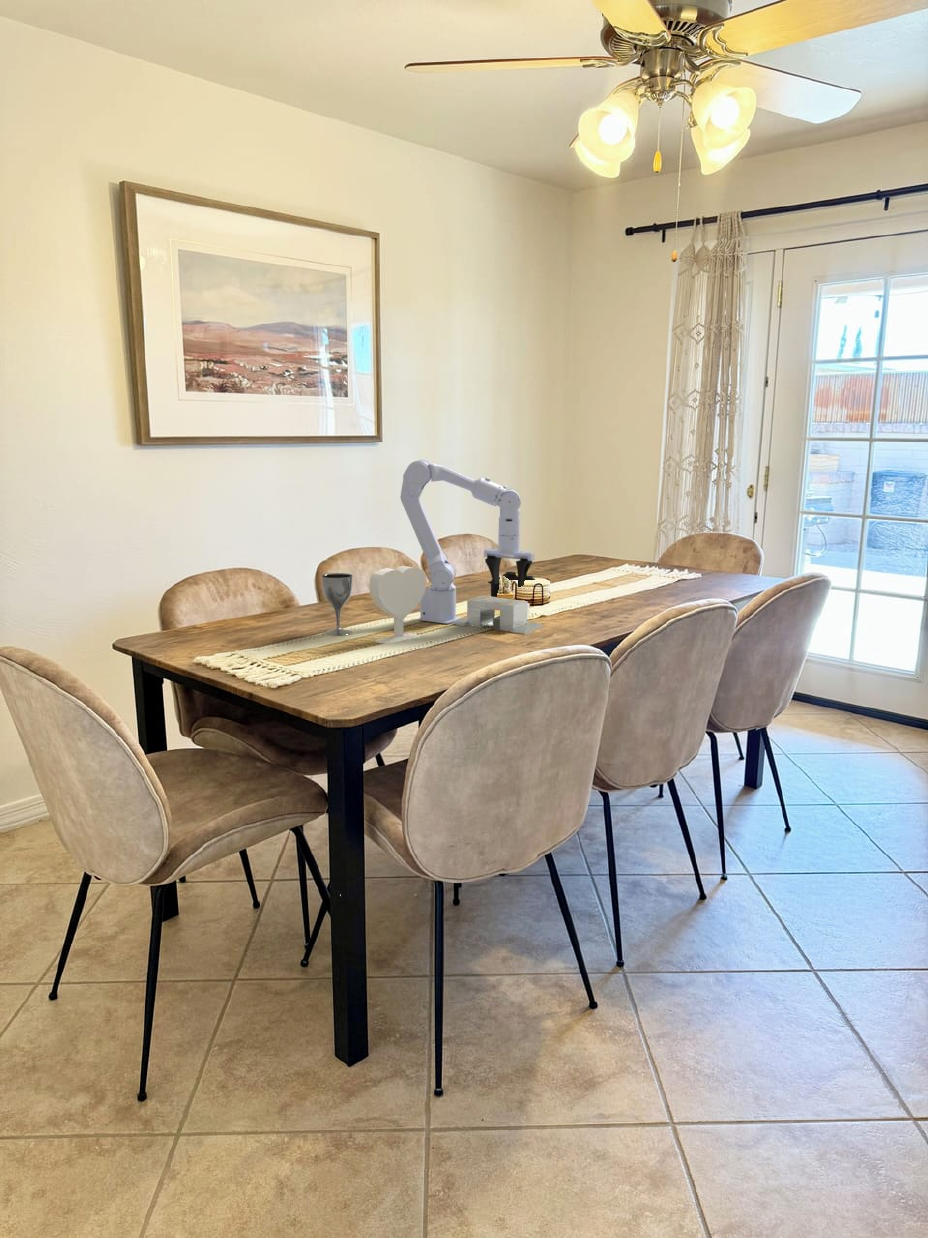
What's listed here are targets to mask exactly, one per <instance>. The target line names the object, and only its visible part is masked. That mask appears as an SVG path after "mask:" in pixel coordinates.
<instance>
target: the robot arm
mask: <svg viewBox="0 0 928 1238" xmlns="http://www.w3.org/2000/svg"><path fill="white" fill-rule="evenodd" d="M440 481H442V482H443V481H444V482H446V483H449V484H452V485H454V486H457V487H459V488H462V489H465V490H467V491H470V492H471V495H472V498H474V499H476V500H478V501H482V502H484V503H486V504H488V505H491V506H493V507H497V506H498V507H499V517H498V538H497V539H498V543H497V545H498V546H497V547H498V549H496V548H486V549H483V557H484V561H485V564H486V566H487V567H488V568H487V569H488V570H489V573H490V575H491V580H493V584H497V583H499V577H500V568H501V562H502V558H503V559H512V560H516V561H515V563H516V564H515V565H516V570H517V577H518V587H521V586H523V585H524V581H525V577H526V575H528V571H529V570H530V567H531V566H532V563H533V561H534V560H535V552H530V551H524V550H520V541H521V540H520V535H521V534H520V533H521V531H520V530H521V518H520V515H521V512H520V507H521V504H522V503H521V496H520V494H519V493H518V491H516V490H514V489H512V488H508V486H507V485H505V484H504V485H501V484H499V483H496V482H493V481H492V480H491V478H490V477H486V478H484V477H480V478H477V479H473V478H471V477H469V476H466V475H465V474H463V473H460V472H457V471H455V470H453V469H451V468H449V467H447V466H445V465H441V464H439V463H434V462H430V461H428V460H425V459H419V460H415V461H412V462H410V463H409V464H408V466H407V467H406V469H405V471H404V473H403V475H402V486H401V491H400V496H399V497H400V498H399V499H400V501H401V504H402V505H403V508H404V511H405V513H406V516H407V517H408V520H409V522H410V525H411V527H412V529H413V531H414V534H415V536H416V538H417V541H418V543H419V545H420V548H421V550H422V552H423V554H424V557H425V559H426V565H427V568H428V570H429V581H430V584H431V585H429V586H428V587H427V586H426V589H425V593H424V595H423V597H422V599H421V601H420V602H419V605H420V606H419V608H420V611H419V614H420V617H419V618H418V620H419V621H425V622H431V623H439V624H447V625H449V624H452V623H453V621H454V620H457V619H460V618H463V617H461V616H457V586H456V585H455V584H454V580H455V578H456V574H457V573H456V572H457V571H456V568H455V567H454V566H453V564H451V563H450V562H449V561H448V559H447V556H446V555H445V553H444V552H443V550H442V548H441V546H440V543H439V540H438V538H437V536H436V533H435V532H434V529H433V527H432V524H431V522H430V519H429V517H428V515H427V512H426V510H425V507H424V506H423V502H422V501H421V499H420V498H421V496H422V493H423V491H424V489H425V487H426V485H427V484H428V483H429V482H431V483H432V482H440ZM485 557H486V558H485Z"/></svg>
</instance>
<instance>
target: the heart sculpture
mask: <svg viewBox="0 0 928 1238" xmlns="http://www.w3.org/2000/svg"><path fill="white" fill-rule="evenodd" d="M427 581H428V580H427V574H426V572H425V570H423V569H421V568H418V567H412V566H407V565H401V566H399V567H397V568H396V569H393V568H389V567H386V568H382V569H378V570H376V571H375V572H373V573H372V575H371V576H370V577H369V583H368V584H369V585H368V587H369V594H370V597H371V599H372V601H373V602H374V604H375V606H377V607H378V608H379V609H380V610H381V611H382V612H384V613H387V614H388V615H390V616H391V617H392V618H393V635H391V636H387V637H382V638H379V639H375V640H374V642H376V643H379V644H387V645H388V644H393V643H397V642H402V641H407V639H408V640H412V639H411V638H413V639H416V638H415V637H418V638H420V637H419V635H420V634H419V635H417V634H418V633H411V632H409V633H404V620H405V619H406V618H407V616H408V615H410V613H412V611H414V610H415V609H416V608H417V606H418V605H420V601H421V599H422V597H423V595H424V593H425V589H426V587H427Z"/></svg>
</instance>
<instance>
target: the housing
mask: <svg viewBox="0 0 928 1238" xmlns="http://www.w3.org/2000/svg"><path fill="white" fill-rule="evenodd" d="M466 603H467V604H466V610H467V611H466V612H467V613H466V616H463V617H462V618H460V619H457V620H454V621H453V622H452V625H453V624H456V625H455V626H458V625H463V626H462V627H467V626H466V625H473V626H479V627H478V628H481V627H480V626H483V625H485V624H488V623H490V622H493V618H495V615H496V614H495V610H499V615H500V630H499V631H505V632H511V633H512V634H521V635H527V634H530V633H532V632H534V631H536V630H539V629H542V628H543V623H537V622H531V621H529V622H528V618H527V605H528V603H529V602H528V601H525V600H516V599H507V598H498V597H491V595H490V596H489V595H479V596H476V597H474V598H470V599H467V602H466ZM488 625H489V624H488ZM473 626H472V627H473ZM485 626H486V625H485ZM483 627H484V626H483Z"/></svg>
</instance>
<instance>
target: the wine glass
mask: <svg viewBox="0 0 928 1238" xmlns="http://www.w3.org/2000/svg"><path fill="white" fill-rule="evenodd" d="M320 577H321V578H320V579H321V582H320V583H321V588H322V593H323V596H324V598H325V600H326V601H327V602H328V603H329V605H331V607H332V608H333V610H334V614H335V619H336V620H335V621H336V626H335V628H334V629H329V630H325V632H324V634H325V635H327V636H331V637H332V636H333V637H342V636H347V635H351V634H352V633H353V631H352V630H350V629H344V628H341V626H340V625H341V624H340V622H341V620H340V619H341V618H340V617H341V611H342V608H343V607H344V606H345V604H346V603H347V602H348V600H350V597H351V595H352V592H353V586H354V581H353V579H354V577H353V574H351V573H347V572H346V573H345V572H330V573H324V574H321V576H320Z"/></svg>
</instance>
